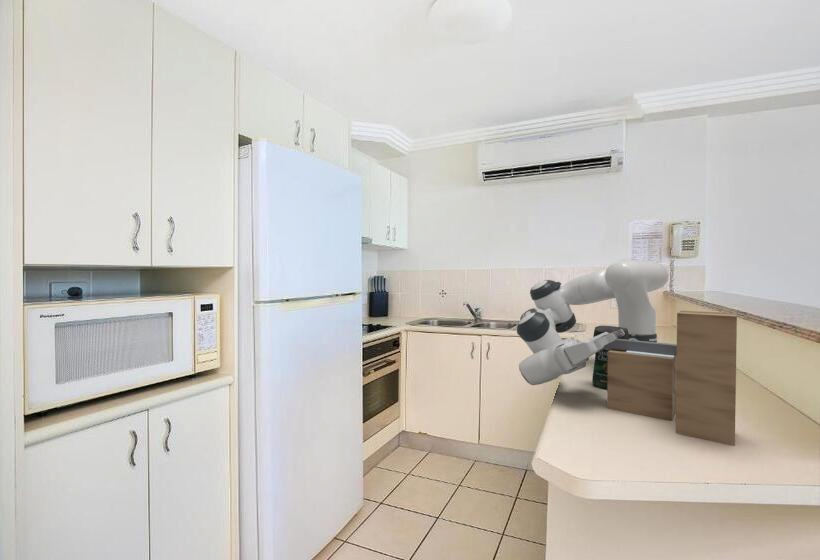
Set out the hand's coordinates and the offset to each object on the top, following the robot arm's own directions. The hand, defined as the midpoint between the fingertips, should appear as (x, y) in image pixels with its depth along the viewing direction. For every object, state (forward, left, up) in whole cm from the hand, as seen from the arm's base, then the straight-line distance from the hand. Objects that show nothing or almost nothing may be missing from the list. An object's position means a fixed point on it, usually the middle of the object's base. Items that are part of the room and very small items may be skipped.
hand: (619, 334), depth 105 cm
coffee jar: (-17, -6, -19) cm, 26 cm away
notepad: (0, +7, -4) cm, 8 cm away
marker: (0, +7, -4) cm, 8 cm away
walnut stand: (+4, +11, -19) cm, 22 cm away
